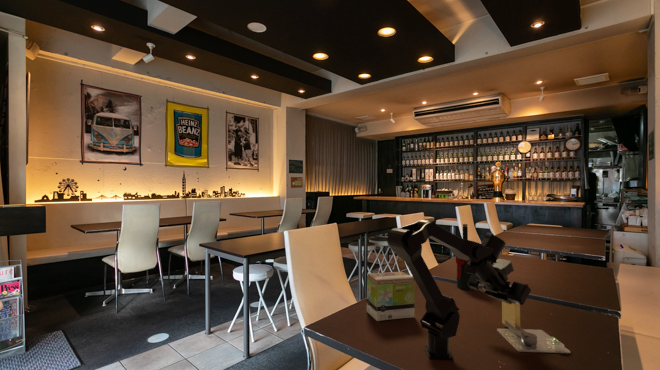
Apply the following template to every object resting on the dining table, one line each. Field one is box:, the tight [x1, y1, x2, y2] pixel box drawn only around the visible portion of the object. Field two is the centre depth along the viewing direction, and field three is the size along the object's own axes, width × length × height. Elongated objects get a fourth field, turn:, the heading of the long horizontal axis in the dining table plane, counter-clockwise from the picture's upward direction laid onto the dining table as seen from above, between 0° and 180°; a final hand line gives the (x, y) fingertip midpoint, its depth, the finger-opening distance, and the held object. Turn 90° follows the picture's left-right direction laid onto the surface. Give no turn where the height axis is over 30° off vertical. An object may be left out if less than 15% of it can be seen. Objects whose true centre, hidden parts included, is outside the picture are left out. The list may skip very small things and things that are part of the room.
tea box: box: [366, 271, 416, 322], centre depth 119 cm, size 15×10×15 cm, turn 106°
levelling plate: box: [496, 328, 571, 354], centre depth 98 cm, size 14×14×3 cm
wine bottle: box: [455, 223, 473, 291], centre depth 152 cm, size 8×10×30 cm
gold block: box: [501, 301, 537, 345], centre depth 101 cm, size 16×4×11 cm, turn 179°
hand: (509, 302), depth 104 cm, fingers closed
